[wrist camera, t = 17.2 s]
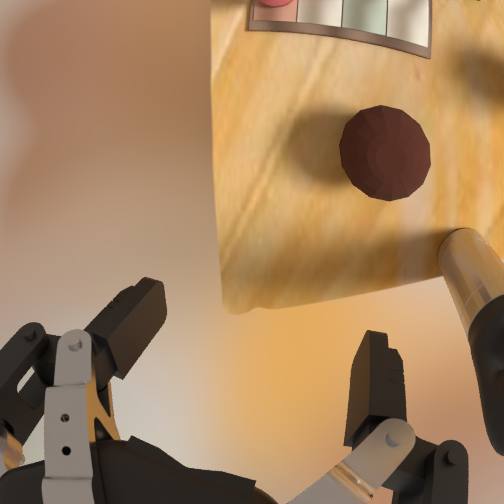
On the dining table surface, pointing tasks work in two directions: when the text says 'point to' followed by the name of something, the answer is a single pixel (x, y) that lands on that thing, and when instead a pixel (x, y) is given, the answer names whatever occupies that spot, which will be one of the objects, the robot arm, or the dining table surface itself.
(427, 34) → the game track
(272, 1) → the pawn
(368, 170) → the muffin
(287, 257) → the dining table surface
